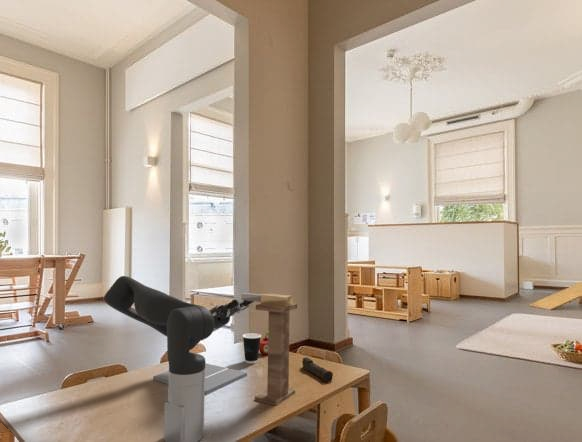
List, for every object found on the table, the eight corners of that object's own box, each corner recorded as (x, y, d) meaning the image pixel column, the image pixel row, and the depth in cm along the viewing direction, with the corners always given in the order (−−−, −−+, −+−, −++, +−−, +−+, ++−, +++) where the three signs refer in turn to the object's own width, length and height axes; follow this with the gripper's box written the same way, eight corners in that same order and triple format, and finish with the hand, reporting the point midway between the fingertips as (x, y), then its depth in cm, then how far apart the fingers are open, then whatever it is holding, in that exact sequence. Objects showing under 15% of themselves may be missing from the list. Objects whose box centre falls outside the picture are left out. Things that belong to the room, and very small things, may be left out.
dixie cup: (259, 358, 172) (259, 332, 172) (262, 364, 164) (262, 337, 164) (241, 359, 170) (241, 333, 170) (242, 365, 162) (243, 338, 163)
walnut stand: (278, 406, 122) (279, 308, 124) (252, 399, 127) (253, 305, 129) (297, 393, 132) (298, 303, 134) (272, 387, 137) (274, 300, 139)
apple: (270, 356, 175) (270, 333, 175) (255, 355, 176) (255, 333, 176) (273, 352, 182) (274, 330, 183) (259, 351, 183) (259, 329, 184)
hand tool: (333, 381, 145) (333, 369, 145) (323, 383, 143) (324, 370, 143) (309, 367, 162) (309, 355, 162) (300, 368, 160) (300, 356, 160)
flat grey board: (206, 394, 130) (206, 390, 130) (153, 379, 144) (153, 376, 144) (246, 375, 149) (246, 372, 149) (196, 364, 163) (196, 360, 163)
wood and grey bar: (286, 306, 127) (286, 297, 127) (239, 301, 137) (239, 292, 137) (292, 305, 130) (292, 295, 131) (246, 300, 140) (246, 291, 140)
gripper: (196, 312, 140) (227, 292, 133) (223, 307, 152) (253, 288, 145) (204, 332, 137) (236, 313, 131) (230, 325, 150) (261, 307, 143)
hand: (245, 300), depth 138 cm, fingers open, 8 cm apart
